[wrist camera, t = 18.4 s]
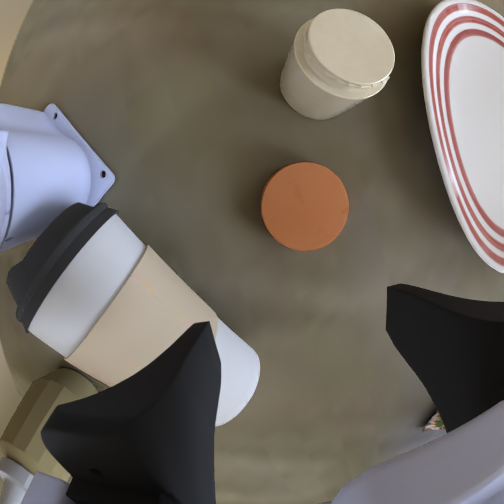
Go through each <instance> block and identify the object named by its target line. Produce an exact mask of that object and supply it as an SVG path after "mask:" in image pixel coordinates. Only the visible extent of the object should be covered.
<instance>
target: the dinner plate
mask: <svg viewBox="0 0 504 504" xmlns="http://www.w3.org/2000/svg"><path fill="white" fill-rule="evenodd" d="M421 69H422V84H423V92H424V99H425V106H426V112H427V117H428V123H429V128H430V133H431V137H432V141H433V145H434V149H435V153H436V157H437V161H438V165H439V168H440V171H441V174H442V178H443V181H444V185H445V188H446V190H447V193H448V196H449V199H450V202H451V204H452V207H453V209H454V212H455V214H456V216H457V219H458V221H459V223H460V225H461V227H462V229H463V231H464V233H465V235H466V237H467V239H468V240H469V242H470V244H471V245H472V247H473V248H474V250H475V251H476V252H477V254H478V255H479V256H480V257H481V258H482V259H483V260H484V261H485V262H486V263H487V264H488V265H489V266H490V267H492V268H493V269H495V270H497V271H499V272H501V273H504V17H502V16H501V15H500V14H499V13H497V12H496V11H494V10H493V9H491V8H490V7H488V6H486V5H485V4H483V3H480V2H478V1H476V0H443V1H441V2H439V3H438V4H437V5H436V6H435V7H434V8H433V10H432V11H431V13H430V14H429V16H428V18H427V21H426V24H425V27H424V32H423V39H422V48H421Z"/></svg>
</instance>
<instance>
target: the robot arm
mask: <svg viewBox="0 0 504 504" xmlns="http://www.w3.org/2000/svg"><path fill="white" fill-rule="evenodd" d="M56 115H57V118H56V119H55V116H56ZM103 171H105V172H106V176H105V177H103V176H102V173H103ZM114 181H115V176H114V174H113V173H112V172H111V171H110V169H109V168H108V167H107V166H106V165H105V164H104V163H103V161H102V160H101V159H100V158H99V157H98V156H97V154H96V153H95V152H94V151H93V150H92V148H91V147H90V146H89V145H88V144H87V143H86V141H85V140H84V139H83V138H82V137H81V135H80V134H79V133H78V132H77V131H76V129H75V128H74V127H73V126H72V124H71V123H70V122H69V121H68V120H67V118H66V117H65V116H64V115H63V113H62V112H61V111H60V110H59V108H58V107H57V106H56V105H55V104H53V103H51V104H49V105H48V106H47V107H46V109H45V110H44V111H43V112H41V111H37V110H32V109H28V108H23V107H18V106H14V105H9V104H3V103H0V253H1V252H4V251H6V250H8V249H11V248H13V247H15V246H18V245H20V244H23V243H25V242H28V241H30V240H33V239H35V238H38V237H39V236H40V235H41V234H42V233H43V231H44V230H45V229H46V228H47V227H48V226H49V225H50V224H51V223H52V221H53V220H54V219H55V218H56V217H58V216H59V215H60V214H61V213H62V212H63V211H64V210H65V209H67V208H68V207H69V206H71V205H73V204H74V203H77V202H80V203H83V204H86V205H89V206H92V207H94V206H95V205H96V204H97V203H98V202H99V200H100V199H101V198H102V197H103V195H104V194H105V193H106V192H107V191H108V189H109V188H110V187H111V186H112V185H113V183H114ZM386 331H387V333H388V335H389V336H390V338H391V340H392V342H393V344H394V345H395V347H396V348H397V350H398V351H399V352H400V354H401V355H402V356H403V358H404V359H405V360H406V362H407V363H408V364H409V366H410V367H411V368H412V370H413V371H414V372H415V373H416V375H417V376H418V377H419V379H420V380H421V382H422V383H423V385H424V386H425V388H426V389H427V391H428V393H429V395H430V397H431V399H432V401H433V402H434V404H435V406H436V409H437V411H438V413H439V415H440V417H441V419H442V422H443V424H444V427H445V429H446V432H447V434H445V435H443V436H441V437H439V438H437V439H435V440H433V441H431V442H429V443H426V444H424V445H422V446H420V447H417V448H415V449H413V450H410V451H408V452H405V453H403V454H400V455H398V456H396V457H394V458H392V459H390V460H388V461H385V462H383V463H381V464H379V465H377V466H374V467H372V468H370V469H368V470H366V471H365V472H363V473H362V474H360V475H359V476H357V477H356V478H354V479H353V480H351V481H350V482H348V483H346V484H345V485H344V486H343V488H342V489H341V490H340V492H339V493H338V494H337V496H336V497H335V498H334V499H333V501H328V502H324V503H319V504H504V302H488V301H478V300H470V299H464V298H459V297H454V296H450V295H446V294H442V293H438V292H434V291H430V290H427V289H423V288H419V287H415V286H411V285H406V284H396V285H392V286H388V287H387V315H386ZM220 389H221V360H220V357H219V353H218V350H217V346H216V343H215V339H214V335H213V332H212V328H211V325H210V321H205V322H198V323H194V324H193V325H191V326H190V327H189V328H188V329H187V330H186V331H185V332H184V333H183V334H182V335H181V336H180V337H179V338H178V339H177V340H176V341H175V342H174V343H173V344H172V345H171V346H170V347H169V348H167V349H166V350H165V351H164V352H163V353H162V354H160V355H159V356H158V357H157V358H156V359H155V360H153V361H152V362H151V363H150V364H148V365H147V366H146V367H144V368H143V369H141V370H140V371H138V372H137V373H135V374H134V375H132V376H131V377H129V378H127V379H125V380H123V381H121V382H120V383H118V384H116V385H114V386H112V387H110V388H108V389H106V390H103V391H101V392H99V393H96V394H94V395H91V396H88V397H85V398H82V399H79V400H75V401H72V402H68V403H65V404H60V405H57V406H56V408H55V409H54V411H53V412H52V414H51V415H50V417H49V419H48V420H47V422H46V423H45V425H44V427H43V428H42V430H41V432H40V433H41V439H42V441H43V443H44V445H45V447H46V448H47V450H48V451H49V452H50V454H51V455H52V456H53V457H54V458H55V459H56V460H57V461H58V462H59V463H60V465H61V466H62V467H63V468H64V469H65V470H66V471H67V472H68V473H69V474H70V475H71V476H72V477H73V479H72V481H71V483H70V484H69V483H67V482H65V481H64V480H62V479H59V478H57V477H54V476H51V475H48V474H45V473H43V472H40V471H37V472H36V474H35V476H34V478H33V480H32V482H31V484H30V485H29V487H28V489H27V491H26V493H25V495H24V498H23V500H22V502H21V504H216V499H215V481H214V432H215V423H216V416H217V410H218V403H219V396H220Z"/></svg>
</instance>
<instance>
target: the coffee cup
mask: <svg viewBox="0 0 504 504" xmlns="http://www.w3.org/2000/svg"><path fill="white" fill-rule="evenodd" d="M118 212H119V211H117V210H113V209H110V208H108V206H107V204H106V203H98V204H97V205H95V206H94V207H92V206H89V205H86V204H83V203H80V202H77V203H74V204H73V205H71V206H69V207H68V208H67V209H65V210H64V211H63V212H62V213H61V214H60V215H59V216H58V217H56V218H55V219H54V220H53V221H52V223H51V224H50V225H49V226H48V227H47V228H46V229H45V230H44V231H43V233H42V234H41V235H40V236H39V238H38V239H37V240H36V241H35V243H34V244H33V246H32V247H31V248H30V250H29V251H28V253H27V254H26V256H25V258H24V259H23V260H22V261H21V262H19V263H18V264H16V265H15V266H13V267H12V268H11V269H10V271H9V273H8V276H7V285H8V287H9V289H10V291H11V294H12V296H13V298H14V300H15V302H16V304H17V306H18V307H17V311H16V317H17V319H18V321H20V322H22V323H23V325H24V328H25V331H26V333H28V332H29V331H30V332H31V333H32V334H34V335H35V336H36V337H38V338H39V339H40V340H42V341H43V342H44V343H46V344H47V345H49V346H50V347H51V348H53V349H54V350H56V351H57V352H59V353H60V354H62V355H63V356H64V360H66V361H67V362H69V363H70V364H72V365H74V366H75V367H77V368H78V369H80V370H82V371H83V372H85V373H87V374H89V375H90V376H92V377H94V378H96V379H97V380H99V381H101V382H103V383H105V384H106V385H108V386H110V387H112V386H114V385H116V384H118V383H120V382H121V381H123V380H125V379H127V378H129V377H131V376H132V375H134V374H135V373H137V372H138V371H140V370H141V369H143V368H144V367H146V366H147V365H148V364H150V363H151V362H152V361H153V360H155V359H156V358H157V357H158V356H159V355H160V354H162V353H163V352H164V351H165V350H166V349H167V348H169V347H170V346H171V345H172V344H173V343H174V342H175V341H176V340H177V339H178V338H179V337H180V336H181V335H182V334H183V333H184V332H185V331H186V330H187V329H188V328H189V327H190V326H191V325H193V324H194V323H198V322H205V321H210V325H211V328H212V332H213V335H214V339H215V343H216V346H217V350H218V353H219V357H220V360H221V389H220V396H219V403H218V410H217V416H216V423H215V427H216V426H220V425H222V424H224V423H226V422H228V421H230V420H231V419H233V418H234V417H235V416H236V415H237V414H238V413H239V412H240V411H241V410H242V409H243V408H244V407H245V406H246V404H247V403H248V402H249V400H250V398H251V397H252V395H253V393H254V391H255V388H256V386H257V383H258V379H259V374H260V362H259V358H258V356H257V354H256V352H255V351H254V350H253V349H252V348H251V347H250V346H249V345H247V344H246V343H245V342H244V341H243V340H242V339H241V338H240V337H238V336H237V335H236V334H235V333H234V332H233V331H232V330H231V329H230V328H228V327H227V326H226V325H225V324H224V323H223V322H222V321H221V320H220V319H219V318H218V317H217V315H216V313H215V312H214V311H213V310H212V309H211V308H210V307H209V306H208V305H207V304H206V303H205V302H204V301H203V300H202V299H201V298H200V297H199V296H198V295H197V294H196V293H195V292H194V291H193V290H192V289H191V288H190V287H189V286H188V285H187V284H186V283H185V282H184V281H183V280H182V279H181V278H180V277H179V276H178V275H177V274H176V273H175V272H174V271H173V270H172V269H171V268H170V267H169V266H168V265H167V264H166V263H165V262H164V261H163V260H162V259H161V258H160V257H159V256H158V255H157V254H156V252H155V251H154V250H153V249H152V248H151V247H150V246H149V245H148V244H145V245H144V244H143V243H142V242H141V241H140V240H139V239H138V237H137V236H136V235H135V234H134V233H133V232H132V231H131V230H130V229H129V228H128V227H127V226H126V224H125V223H124V222H123V221H122V220H121V219H120V218H119V217H118V216H117V214H118Z"/></svg>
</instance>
